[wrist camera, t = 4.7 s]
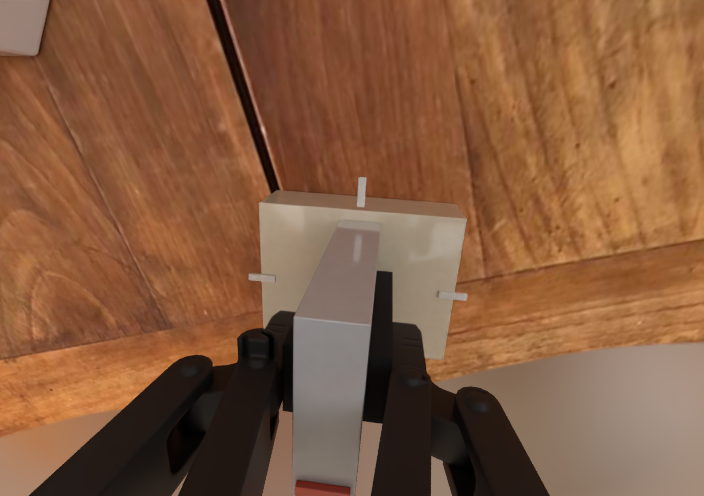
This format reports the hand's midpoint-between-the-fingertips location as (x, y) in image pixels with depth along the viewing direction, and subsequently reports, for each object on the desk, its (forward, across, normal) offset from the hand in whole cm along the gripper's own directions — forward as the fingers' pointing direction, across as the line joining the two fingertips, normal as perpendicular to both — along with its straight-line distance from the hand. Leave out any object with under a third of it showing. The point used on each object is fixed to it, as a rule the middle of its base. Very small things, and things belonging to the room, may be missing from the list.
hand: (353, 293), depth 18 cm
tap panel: (+4, 0, 0) cm, 4 cm away
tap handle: (+1, 0, 0) cm, 1 cm away
